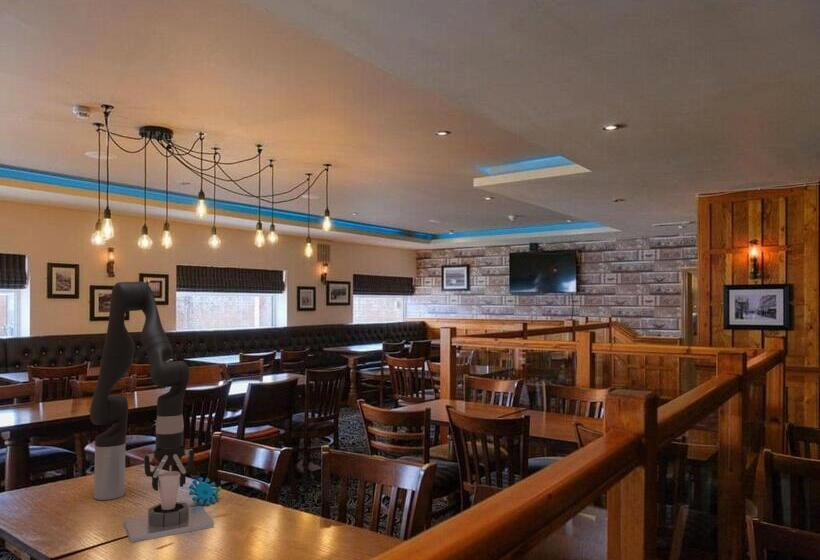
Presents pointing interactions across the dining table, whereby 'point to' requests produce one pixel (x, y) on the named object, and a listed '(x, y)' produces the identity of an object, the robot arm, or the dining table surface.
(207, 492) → the gear
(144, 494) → the dining table surface
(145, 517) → the hub plate
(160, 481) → the smoothie
